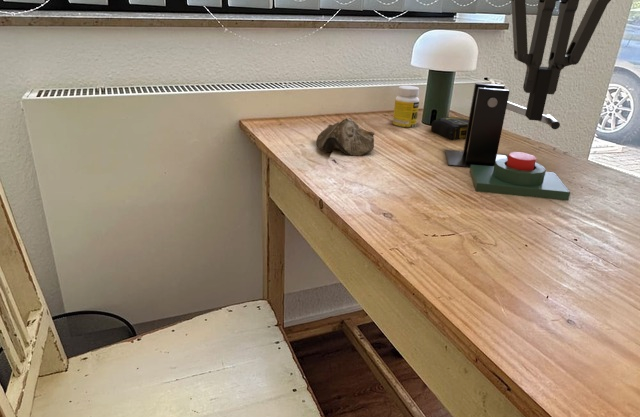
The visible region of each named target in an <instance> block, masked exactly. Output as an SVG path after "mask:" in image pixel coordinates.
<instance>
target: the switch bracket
mask: <svg viewBox="0 0 640 417" xmlns="http://www.w3.org/2000/svg"><path fill="white" fill-rule="evenodd" d="M483 87H485V88H483ZM510 93H511V91H510V90H509V89H506V85H504V84H492V83H481V82H480V83H479V82H475V83H474V86H473V92H472V98H471V103H470V109H469V116H468V120H469V121H468V127H467V132H466V138H465V139H464V145H463V150H450V149H445V150H444V154H445V158H446V162H447V166H448V167H454V168H455V167H457V168H467V169H470V166H471V165H481V166H492V167H494V165H495V161H497V160H499V159H502V158H508V156H507V155H506V154H498V151H499V146H500V141H501V136H502V132H503V127H504V121H505V116H506V112H507V109H506V107H507V102H509V97H510Z"/></svg>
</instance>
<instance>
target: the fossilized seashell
mask: <svg viewBox="0 0 640 417" xmlns="http://www.w3.org/2000/svg"><path fill="white" fill-rule="evenodd" d="M317 135H318V136H317V138H316V143H315V145H316V146H315V147H316V148H317V150H319V151H324V152H328V153H329V152H330V153H333V151H341V152H342V153H343V154H345V155H347V156H349V157H363V156H367V154H369V153H370V152H372V150H374V148H375V138H374V136H375V132H373V131H369V130H366V129H363V128H361V127H360V126H359V125H358V124H357V122H356V121H354V120H353V119H352V118H350V117H345V118H344V119H342V120H340V121H338V122H335V123H334V124H328V125H327V127H326V128H324V129H323V130H322V131H321V132H320V133H319V134H317Z"/></svg>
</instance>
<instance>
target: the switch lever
mask: <svg viewBox="0 0 640 417" xmlns="http://www.w3.org/2000/svg"><path fill="white" fill-rule="evenodd" d="M483 88H485V87H483ZM526 109H527V107H525V106H522V105H519V104H516V103H513V102H510V101H508V102H507V107H506V110H507V111H511V112H513V113H515V114H519V115H521V116H525V114H526ZM525 117H526V116H525ZM539 122H541V123H543V124H545V125H548V126H549V127H550V128H551V129H552V130H558V129H559V128H560V127H561V123H560V122H559V121H558V119H555V117H554V116H552V115H551V114H549V113H547V114H543V115H542V120H541V121H539Z"/></svg>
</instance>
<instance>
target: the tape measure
mask: <svg viewBox="0 0 640 417" xmlns="http://www.w3.org/2000/svg"><path fill="white" fill-rule="evenodd" d="M468 121H469V118H464V117H460V116H445V117H441V118H438V119H434V120H433V121H432V122H431V126H430V130H431V132H432V133H434V134H436V135H439V136H441V137H443V138H446V139H448V140H450V141H456V140H465V138H466V132H467V127H468Z"/></svg>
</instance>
